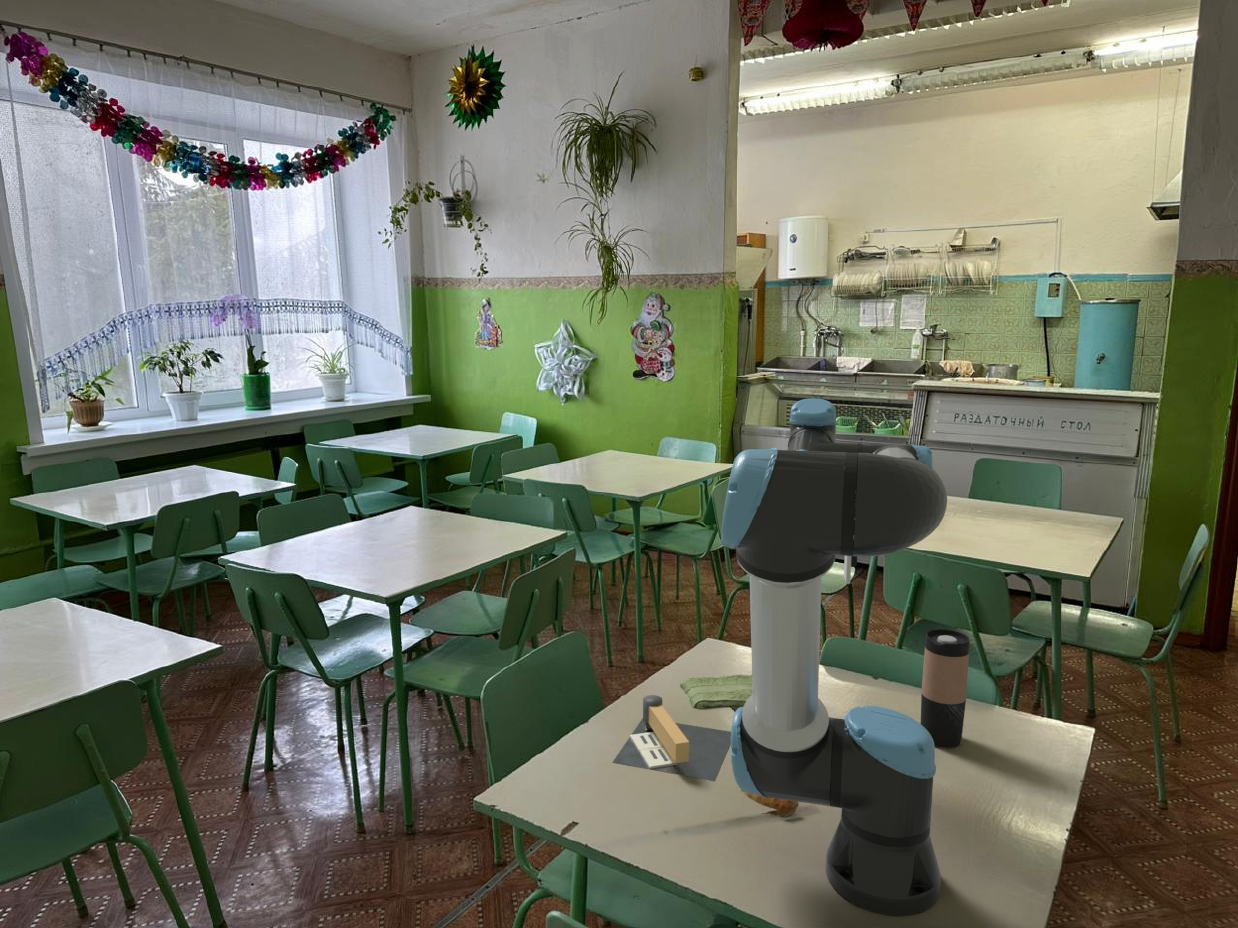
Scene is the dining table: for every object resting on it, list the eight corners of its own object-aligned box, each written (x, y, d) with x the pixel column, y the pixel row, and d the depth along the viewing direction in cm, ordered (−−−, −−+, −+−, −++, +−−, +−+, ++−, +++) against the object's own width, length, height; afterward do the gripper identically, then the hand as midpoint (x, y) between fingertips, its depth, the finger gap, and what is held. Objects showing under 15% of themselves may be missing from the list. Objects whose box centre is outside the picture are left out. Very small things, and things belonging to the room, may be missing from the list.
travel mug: (955, 729, 158) (963, 629, 155) (968, 750, 151) (976, 645, 148) (914, 727, 159) (920, 627, 156) (924, 747, 152) (931, 643, 148)
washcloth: (778, 711, 167) (779, 696, 167) (693, 717, 164) (693, 702, 164) (757, 683, 180) (758, 669, 179) (677, 689, 177) (677, 674, 176)
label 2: (639, 751, 148) (639, 748, 148) (665, 747, 149) (665, 745, 149) (649, 768, 142) (649, 766, 142) (677, 764, 144) (677, 761, 144)
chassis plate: (714, 787, 139) (714, 772, 138) (612, 768, 144) (612, 754, 144) (735, 738, 155) (735, 724, 155) (642, 723, 161) (643, 710, 160)
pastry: (807, 810, 133) (808, 788, 132) (777, 825, 129) (778, 802, 128) (765, 784, 140) (765, 763, 140) (735, 797, 136) (736, 776, 136)
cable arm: (640, 716, 157) (640, 696, 157) (658, 713, 158) (658, 694, 158) (672, 763, 140) (672, 741, 140) (692, 760, 141) (692, 738, 141)
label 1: (629, 736, 153) (629, 734, 153) (655, 733, 154) (655, 730, 154) (639, 752, 147) (639, 750, 147) (666, 748, 149) (666, 746, 149)
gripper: (881, 470, 148) (874, 566, 158) (739, 475, 151) (741, 569, 161) (889, 492, 141) (881, 591, 152) (740, 497, 144) (743, 594, 155)
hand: (809, 580), depth 157 cm, fingers open, 13 cm apart
